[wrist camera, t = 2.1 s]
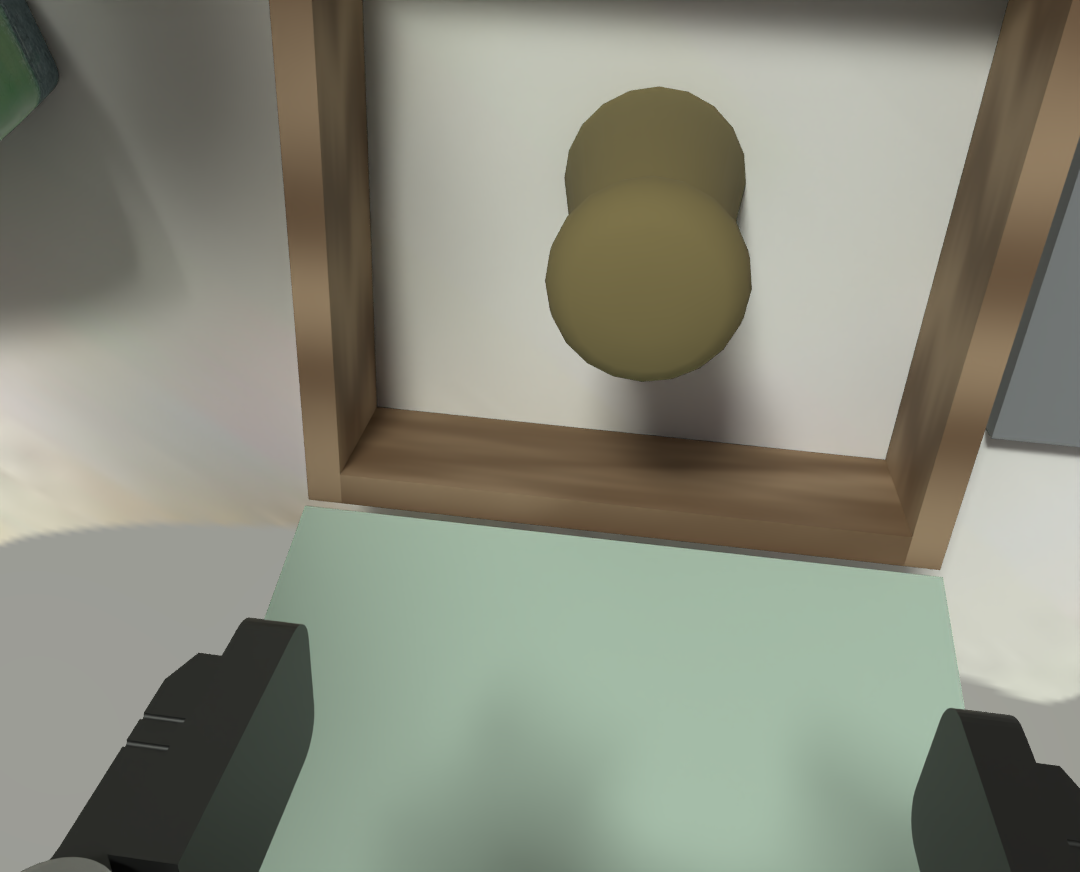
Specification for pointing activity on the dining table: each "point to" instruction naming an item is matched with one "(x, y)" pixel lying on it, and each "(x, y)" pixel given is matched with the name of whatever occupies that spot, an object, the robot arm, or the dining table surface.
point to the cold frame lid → (603, 704)
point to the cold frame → (653, 461)
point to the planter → (22, 65)
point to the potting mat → (1047, 339)
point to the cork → (651, 237)
